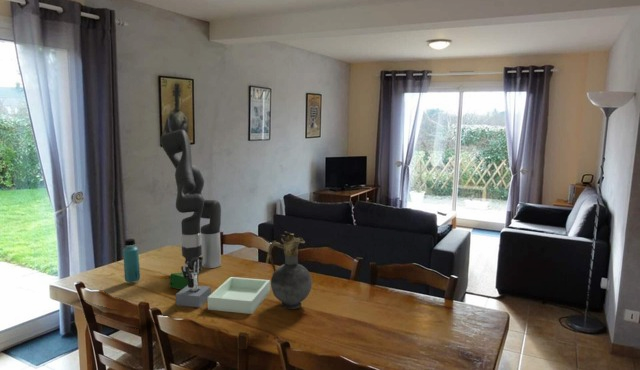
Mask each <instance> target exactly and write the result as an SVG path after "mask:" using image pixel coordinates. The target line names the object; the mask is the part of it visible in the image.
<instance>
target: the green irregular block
mask: <svg viewBox="0 0 640 370" xmlns="http://www.w3.org/2000/svg"><path fill="white" fill-rule="evenodd" d="M187 285H188V279H184V276H183V273H182V272H177V273H176V272H175V273H170V276H169V287H171V288H173V289H177V290H179V291H181V290H182V289H183V288H185V287H186V286H187Z"/></svg>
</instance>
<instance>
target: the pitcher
mask: <svg viewBox="0 0 640 370" xmlns="http://www.w3.org/2000/svg"><path fill="white" fill-rule="evenodd" d="M285 233H286V234H287V235H285V234H280V236H282V237H281V242H282V243H280V242H277V241H275V242H272V243H270V244H269V246H268V252H267V253H268V258H269V261H270V263H271V265H272V269H273V271H274V272H273V273H272V276H271V279H270V288H271V290H272V293H273V296H274V297H275V298H276V299H277V300H278V301H279V302H281V306H282V307H283V308H284V309H285V310H297V309H299V308H301V307H302V302H303V301H305V300H306V299H307V298H308V296H309V295H310V294H311V290H312V285H313V280H312V276H311V274H310V271H309V270H308V269H307V268H306V266H303V264H300V263H299V260H298V259H299V258H298V257H299V250H298V249H299V244H305V243H306V241H305V240H304V239H303V238H302V237H297V236H296V237H295V236H294V233H291V232H288V231H285ZM274 247H277V248H279V249H282V250H283V255H284V263H283V264H281V265H280V266H278V267H277V268H276V267H275V264H274V261H273V255H272V250H273V248H274Z"/></svg>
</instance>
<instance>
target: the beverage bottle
mask: <svg viewBox="0 0 640 370" xmlns="http://www.w3.org/2000/svg"><path fill="white" fill-rule="evenodd" d="M124 245H125V246H126V247H124V248H123V249H122V254H123V255H122V256H123V257H122V258H123V270H124V275H123V276H124V281H125V282H127V283H134V282H138V281H140V279H141V269H140V256H139V248H138V247H137V246H136V240H135V239H134V238H128V239H125V240H124Z"/></svg>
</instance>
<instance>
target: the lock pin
mask: <svg viewBox="0 0 640 370" xmlns="http://www.w3.org/2000/svg"><path fill="white" fill-rule="evenodd" d="M190 274H191V273H190ZM198 286H199V285H198V284H197V272H196V271H195V273H194V287H193V288H189V292H191V293H196V292H198Z"/></svg>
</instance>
